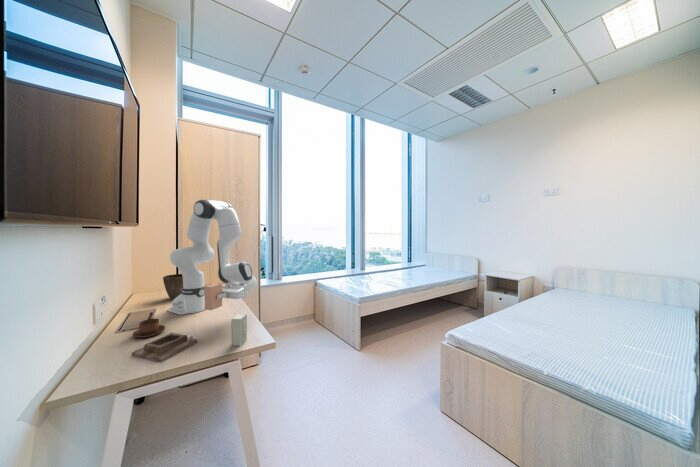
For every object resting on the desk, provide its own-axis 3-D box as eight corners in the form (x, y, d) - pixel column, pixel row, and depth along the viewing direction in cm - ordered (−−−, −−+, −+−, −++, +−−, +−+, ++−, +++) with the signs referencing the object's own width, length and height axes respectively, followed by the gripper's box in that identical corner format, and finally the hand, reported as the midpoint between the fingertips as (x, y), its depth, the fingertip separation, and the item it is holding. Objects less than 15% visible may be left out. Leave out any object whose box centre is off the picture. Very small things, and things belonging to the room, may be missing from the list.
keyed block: (204, 309, 114) (204, 286, 114) (215, 304, 121) (215, 283, 120) (211, 310, 113) (211, 287, 113) (222, 305, 120) (222, 283, 119)
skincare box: (238, 339, 112) (237, 313, 111) (247, 339, 112) (247, 313, 111) (230, 346, 106) (230, 318, 105) (240, 346, 105) (240, 318, 105)
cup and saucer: (139, 330, 120) (138, 318, 120) (168, 327, 124) (168, 315, 124) (127, 341, 109) (127, 328, 109) (160, 337, 113) (159, 324, 113)
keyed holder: (131, 355, 98) (131, 346, 97) (170, 337, 113) (170, 329, 113) (161, 361, 93) (161, 352, 93) (197, 342, 109) (197, 334, 109)
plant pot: (163, 297, 173) (162, 275, 173) (188, 293, 182) (188, 272, 182) (163, 302, 161) (162, 279, 161) (189, 298, 170) (189, 276, 170)
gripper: (217, 281, 132) (194, 288, 118) (249, 285, 126) (229, 292, 113) (217, 293, 132) (194, 301, 119) (249, 296, 127) (229, 305, 113)
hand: (212, 296), depth 116 cm, fingers closed on keyed block, 4 cm apart
